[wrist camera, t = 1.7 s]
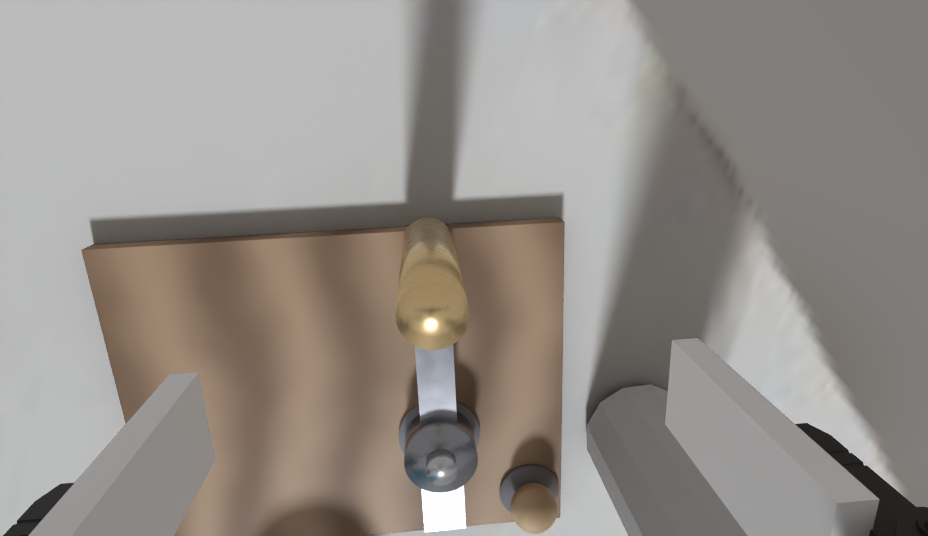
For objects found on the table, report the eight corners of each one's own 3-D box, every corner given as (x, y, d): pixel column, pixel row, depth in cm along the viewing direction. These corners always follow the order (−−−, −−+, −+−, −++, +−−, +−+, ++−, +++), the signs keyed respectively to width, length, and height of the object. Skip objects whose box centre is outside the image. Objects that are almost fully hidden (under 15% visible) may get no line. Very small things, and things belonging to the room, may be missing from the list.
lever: (476, 502, 38) (500, 665, 27) (410, 508, 37) (408, 676, 27) (465, 214, 32) (490, 277, 21) (386, 218, 31) (371, 284, 21)
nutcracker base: (166, 540, 38) (135, 596, 34) (93, 244, 32) (43, 268, 28) (555, 505, 40) (572, 554, 36) (559, 217, 34) (580, 236, 30)
